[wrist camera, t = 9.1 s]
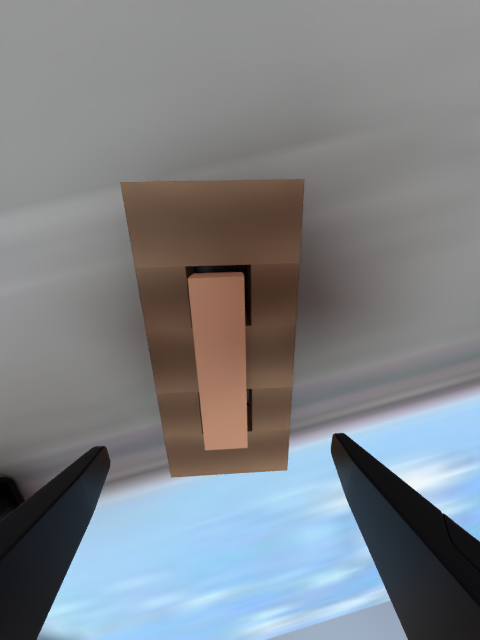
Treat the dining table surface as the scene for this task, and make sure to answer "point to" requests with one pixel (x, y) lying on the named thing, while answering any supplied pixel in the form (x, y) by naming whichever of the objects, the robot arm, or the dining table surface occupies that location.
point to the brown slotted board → (261, 320)
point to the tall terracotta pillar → (220, 356)
